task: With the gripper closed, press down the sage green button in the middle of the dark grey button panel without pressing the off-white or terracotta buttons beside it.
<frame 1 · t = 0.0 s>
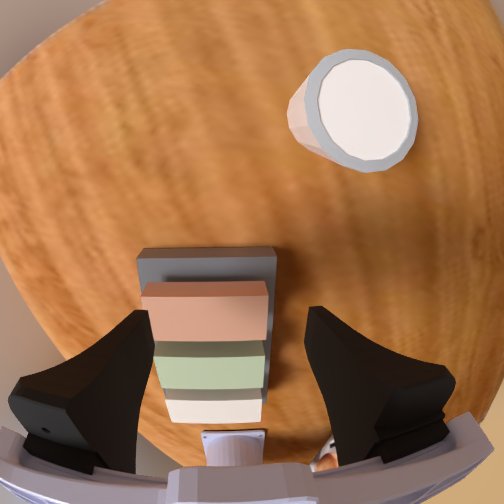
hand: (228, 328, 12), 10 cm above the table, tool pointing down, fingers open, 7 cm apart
sage button: (210, 365, 21), point 4 cm above the table, slide at 0.0 cm
terracotta button: (205, 311, 19), point 4 cm above the table, slide at 0.0 cm
shot glass: (323, 117, 19), on the table
button panel: (211, 332, 24), on the table
off-white button: (214, 404, 22), point 4 cm above the table, slide at 0.0 cm
lucky cat figurine: (355, 420, 33), on the table
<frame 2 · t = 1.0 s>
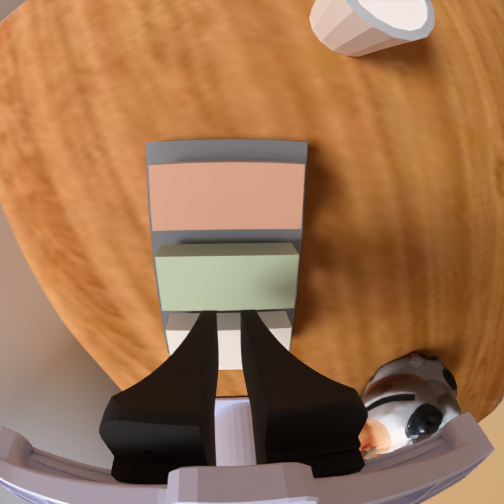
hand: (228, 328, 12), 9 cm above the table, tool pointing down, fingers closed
sage button: (227, 276, 17), point 4 cm above the table, slide at 0.0 cm
terracotta button: (226, 193, 15), point 4 cm above the table, slide at 0.0 cm
shot glass: (343, 26, 15), on the table
button panel: (226, 251, 21), on the table
off-white button: (228, 341, 19), point 4 cm above the table, slide at 0.0 cm
lucky cat figurine: (382, 387, 30), on the table
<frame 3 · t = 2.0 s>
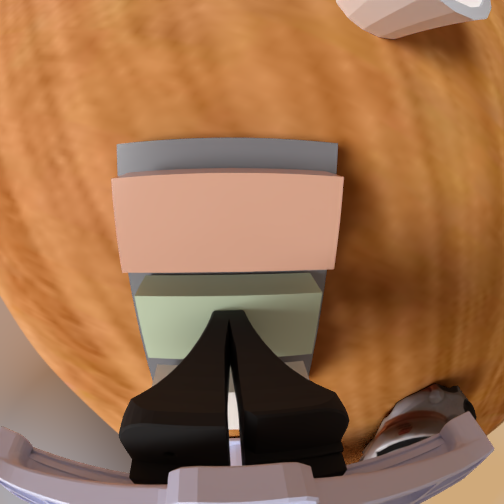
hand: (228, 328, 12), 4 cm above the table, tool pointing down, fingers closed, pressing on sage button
sage button: (228, 317, 13), point 3 cm above the table, slide at 0.9 cm, touching gripper
terracotta button: (227, 217, 11), point 4 cm above the table, slide at 0.0 cm
shot glass: (373, 3, 11), on the table
button panel: (227, 284, 16), on the table
off-white button: (231, 398, 14), point 4 cm above the table, slide at 0.0 cm
lucky cat figurine: (397, 419, 25), on the table
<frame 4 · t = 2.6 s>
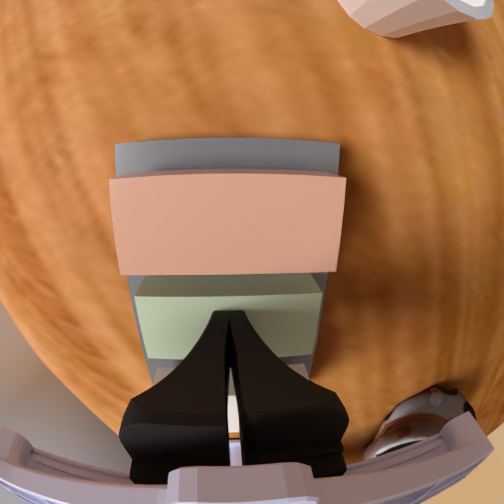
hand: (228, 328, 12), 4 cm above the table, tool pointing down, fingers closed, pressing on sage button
sage button: (228, 317, 13), point 3 cm above the table, slide at 1.1 cm, touching gripper
terracotta button: (227, 218, 10), point 4 cm above the table, slide at 0.0 cm
shot glass: (375, 1, 11), on the table
button panel: (227, 286, 16), on the table
off-white button: (231, 401, 14), point 4 cm above the table, slide at 0.0 cm
lucky cat figurine: (397, 421, 25), on the table
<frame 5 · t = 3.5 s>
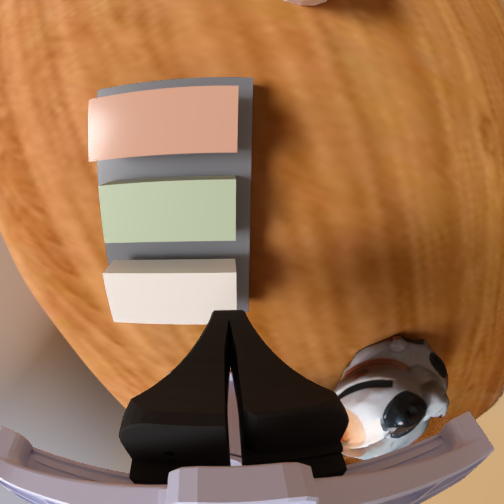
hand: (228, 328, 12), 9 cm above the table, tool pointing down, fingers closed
sage button: (167, 208, 16), point 3 cm above the table, slide at 1.1 cm
terracotta button: (162, 122, 14), point 4 cm above the table, slide at 0.0 cm
button panel: (176, 198, 19), on the table
off-white button: (171, 291, 17), point 4 cm above the table, slide at 0.0 cm
lucky cat figurine: (364, 375, 28), on the table
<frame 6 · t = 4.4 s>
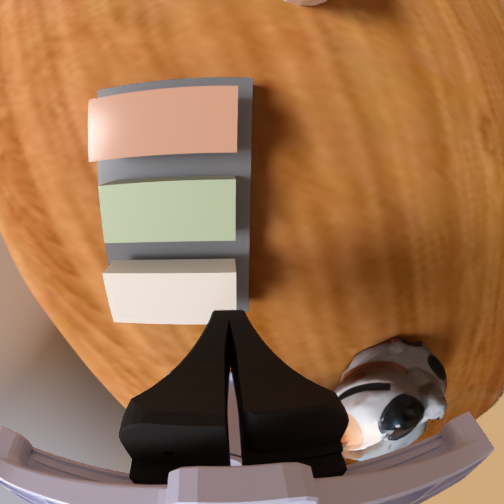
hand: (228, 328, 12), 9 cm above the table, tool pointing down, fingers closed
sage button: (167, 208, 16), point 3 cm above the table, slide at 1.1 cm
terracotta button: (161, 122, 14), point 4 cm above the table, slide at 0.0 cm
button panel: (176, 198, 19), on the table
off-white button: (171, 291, 17), point 4 cm above the table, slide at 0.0 cm
lucky cat figurine: (363, 377, 28), on the table
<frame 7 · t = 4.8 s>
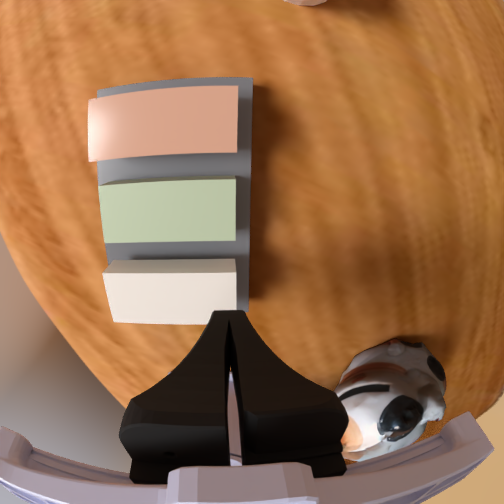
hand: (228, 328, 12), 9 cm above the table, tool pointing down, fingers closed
sage button: (167, 208, 16), point 3 cm above the table, slide at 1.1 cm
terracotta button: (161, 122, 14), point 4 cm above the table, slide at 0.0 cm
button panel: (176, 198, 19), on the table
off-white button: (171, 291, 17), point 4 cm above the table, slide at 0.0 cm
lucky cat figurine: (362, 378, 28), on the table
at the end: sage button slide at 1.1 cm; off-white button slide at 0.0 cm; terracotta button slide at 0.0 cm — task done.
